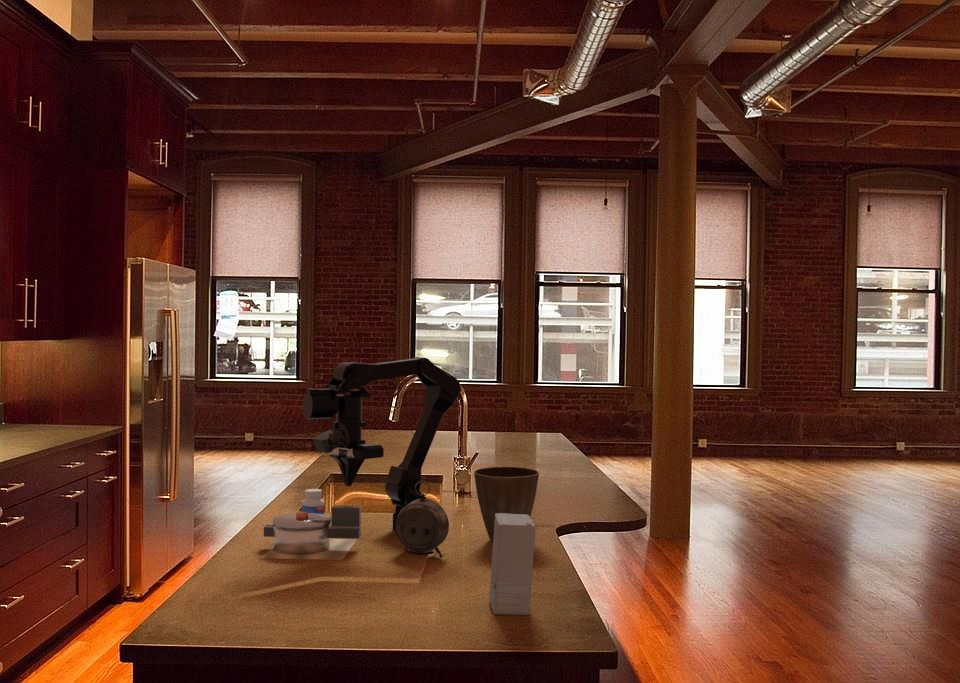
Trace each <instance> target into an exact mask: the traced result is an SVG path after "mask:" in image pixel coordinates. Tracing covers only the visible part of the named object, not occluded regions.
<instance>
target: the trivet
mask: <svg viewBox="0 0 960 683" xmlns="http://www.w3.org/2000/svg"><path fill="white" fill-rule="evenodd" d="M357 540H358V539H355V538H330V549H328V550H327V551H324V552H321V553H316V554H308V555H288V554H281V553H278V552H275V551H274V550H273V546H272V547H271V548H269V550H267V552H265V553H264V554H263V555H262V556H261V557H260V559H280V560H281V559H282V560H283V559H285V560H286V559H287V560H289V559H290V560H324V561H325V560H330V561H331V560H334V561H335V560H336V561H342V560H344V558H346V556H347V555H348V553H349V552H350V550H351V549H352V547H353V546H354V545H355V544H356V542H357Z"/></svg>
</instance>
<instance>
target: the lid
mask: <svg viewBox="0 0 960 683" xmlns="http://www.w3.org/2000/svg"><path fill="white" fill-rule="evenodd" d="M361 522H362V506H361V505H332V506H331V516H330V515H327V514H325V513H324V514H316V513H307V512H301V511H299V512H296V513H288V514H283V515H282V514H281V515H278V516H274V518H272V525H273V526H274V527H277V528H281V529H288V530H309V529H317V528H323V527H326V526H329V525H330V526H335V527H361V524H362V523H361Z"/></svg>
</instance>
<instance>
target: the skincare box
mask: <svg viewBox="0 0 960 683" xmlns="http://www.w3.org/2000/svg"><path fill="white" fill-rule="evenodd" d="M533 521H534V519H533V518H531V516H529V515H525V514H507V513H496V514H495V522H494V537H493V542H492V551H491V553H492V554H491V567H490V583H489V584H490V585H489V595H488V597H489V598H488V599H489V604H490V607H491V611H492V613H493V615H517V616H519V615H520V616H522V615H523V616H525V615H530V614H531V601H532V600H531V599H532V598H531V597H532V584H533V583H532V582H533V568H534V567H533V566H534V554H535V553H534V552H535V542H536V540H535V538H536V525H535V524H534V522H533Z"/></svg>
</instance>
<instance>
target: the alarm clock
mask: <svg viewBox="0 0 960 683" xmlns="http://www.w3.org/2000/svg"><path fill="white" fill-rule="evenodd" d="M420 482H421V483H425V484H426V485H427V486H428V491H427V492H426V493H423V492H421V493H422V494H418V492H417V491H416V486H417V484H418V483H420ZM430 489H431V486H430V484H429V483H428V482H427V481H425V480H422V481H419V482H417V483H416V485H415V491H416V493H417V494H418V495H420V496H421V498H420V499H417V500H414V501H412V502H411V503H409V504H408V505H407V506H405V507H404V508H403V509H402V510H401V511H400V512H399V514H398V516H397V519H396V531H395V533H396V536H397V538H398V541H399V542H400V543H401V544H402V546H404V549H403V551H408V550H409V551H411V552H413V553H415V556H420V554H426V553H430V552H432V551H435V552H436V553H437V554H438V555H439V557H440V558H443V554H442V552H441V550H440V548H439V546H441V545H443V542H444V541H445V540H446V539H447V537H448V534H449V530H450V522H449V517H448V515H447V513H446V511H445V510H444V508H443V507H442V506H441V505H440V504H439V503H438V502H436V501H434V500H432V499H429V498H427V499H424V496H425V497H427V495H428V494H429V493H430V491H431V490H430Z"/></svg>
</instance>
